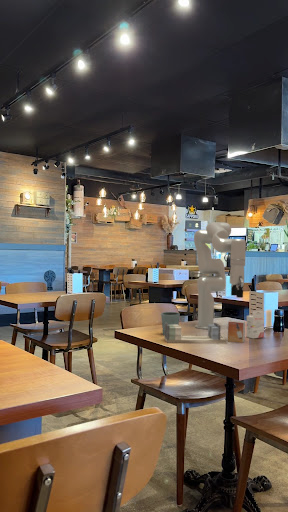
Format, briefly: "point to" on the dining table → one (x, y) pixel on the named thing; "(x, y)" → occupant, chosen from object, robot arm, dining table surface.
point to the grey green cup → (169, 319)
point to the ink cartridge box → (255, 325)
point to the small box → (236, 331)
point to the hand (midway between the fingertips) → (236, 296)
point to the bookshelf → (175, 336)
